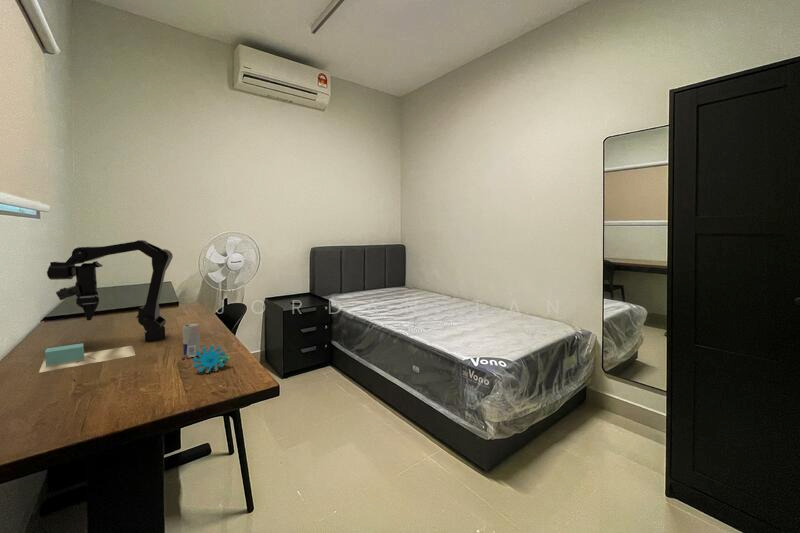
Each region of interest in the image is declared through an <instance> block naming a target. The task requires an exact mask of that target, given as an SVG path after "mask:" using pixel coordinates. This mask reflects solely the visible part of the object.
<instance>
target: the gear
mask: <svg viewBox="0 0 800 533" xmlns="http://www.w3.org/2000/svg"><path fill="white" fill-rule="evenodd" d="M201 351H203V354H201ZM220 351H221V352H220ZM196 355H197V356H198V357H194V358H192V362H193V369H196V368H198V369H197V372H199V373H200V372H201V373H202V372H203V371H204V370H205V369H206V370H205V372H206V371H210V372H211V370H212V368H214V369H218V370H219V368H218V366H217V365H219V367H220V368H221V367H222V368H223V367H224V366H225V365H226V364H227V363H228V361H230V360H231V356H230V355H227V356H225V355H226V351H225V350H223V351H222V348H221V347H220V346H218V347H217V348H216V349H215V346H214V345H212V344H211V345H210V346H209V349H208V351H207V347H206V346H203V347H202V348H201V350H200V351H197V352H196ZM220 355H222V356H220ZM198 358H199V359H198ZM194 362H195V363H194ZM196 362H198V363H199V364H198V363H196ZM225 363H226V364H225ZM224 364H225V365H224ZM214 369H213V370H214Z"/></svg>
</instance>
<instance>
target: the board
mask: <svg viewBox="0 0 800 533" xmlns="http://www.w3.org/2000/svg"><path fill="white" fill-rule="evenodd" d="M135 356H136V353H135V349H134V346H133V345H129V346H122V347H115V348H110V349H104V350H97V351H89V352H84V361H79V362H74V363H68V364H62V365H56V366H50V367H46V360H45V359H43V362H42V364H41V367H40V369H39V372H38V373H44V372H51V371H57V370H62V369H68V368H72V367H73V368H74V367H78V366H83V365H89V364H94V363H100V362H101V363H102V362H106V361H112V360H118V359H124V358H128V357H135Z"/></svg>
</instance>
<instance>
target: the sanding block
mask: <svg viewBox="0 0 800 533" xmlns="http://www.w3.org/2000/svg"><path fill="white" fill-rule="evenodd" d="M84 347H85V346H84V342H83V343H76V344H69V345H63V346H56V347H49V348H46V349H45V351H44V355H45V356H44V360H46V367H50V366H56V365H62V364H68V363H74V362H79V361H84V353H85V349H84Z"/></svg>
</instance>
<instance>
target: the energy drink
mask: <svg viewBox="0 0 800 533" xmlns="http://www.w3.org/2000/svg"><path fill="white" fill-rule="evenodd" d="M200 338H201V335H200V325H199V323H198V322H197V323H196V322H193V323H192V322H191V323H186V324H183V325H182V348H183V356H185V357H186V358H185V359H192V358H191V357H195V356H197V355H196V352H197V351H200V352H201V339H200Z"/></svg>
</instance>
